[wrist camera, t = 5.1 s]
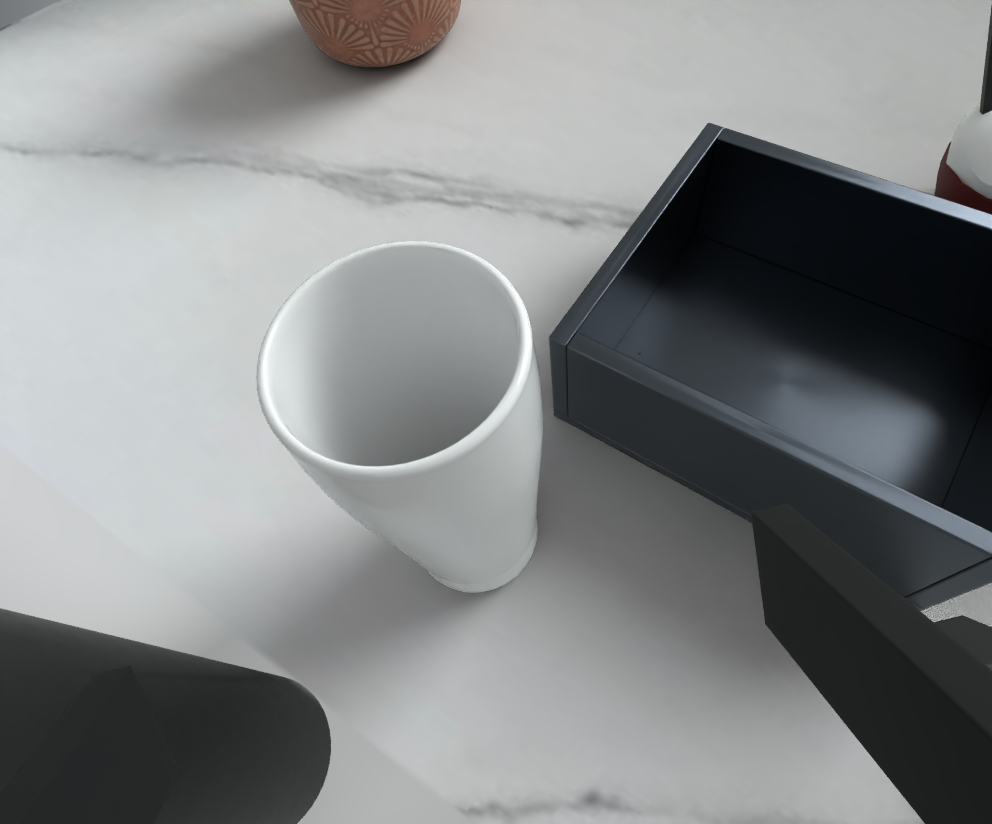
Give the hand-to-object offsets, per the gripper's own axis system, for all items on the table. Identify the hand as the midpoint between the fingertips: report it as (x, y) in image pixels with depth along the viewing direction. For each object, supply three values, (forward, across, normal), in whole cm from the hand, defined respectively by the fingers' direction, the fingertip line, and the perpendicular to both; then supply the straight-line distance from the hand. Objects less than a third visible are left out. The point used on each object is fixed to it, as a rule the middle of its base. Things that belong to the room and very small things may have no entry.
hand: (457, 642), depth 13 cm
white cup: (+14, 0, -5) cm, 15 cm away
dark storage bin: (+16, +15, -2) cm, 23 cm away
